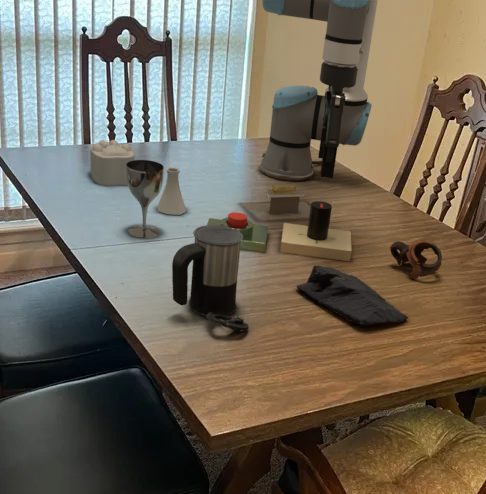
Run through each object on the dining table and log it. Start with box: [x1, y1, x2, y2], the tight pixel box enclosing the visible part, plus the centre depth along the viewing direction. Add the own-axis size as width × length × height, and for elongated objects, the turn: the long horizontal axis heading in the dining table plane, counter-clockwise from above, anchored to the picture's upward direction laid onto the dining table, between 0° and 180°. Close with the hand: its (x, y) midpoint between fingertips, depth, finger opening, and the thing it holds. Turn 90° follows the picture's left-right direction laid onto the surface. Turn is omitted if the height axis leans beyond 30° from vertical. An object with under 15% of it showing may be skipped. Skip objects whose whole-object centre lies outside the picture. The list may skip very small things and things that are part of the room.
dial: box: [307, 200, 333, 240], centre depth 175 cm, size 5×5×8 cm
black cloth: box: [296, 264, 409, 326], centre depth 155 cm, size 15×22×5 cm
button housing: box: [206, 216, 269, 253], centre depth 176 cm, size 14×11×4 cm
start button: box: [227, 211, 248, 227], centre depth 174 cm, size 4×4×2 cm
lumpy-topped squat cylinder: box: [89, 139, 135, 187], centre depth 199 cm, size 10×13×9 cm
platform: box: [241, 184, 311, 219], centre depth 194 cm, size 12×18×7 cm, turn 114°
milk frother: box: [171, 224, 250, 333], centre depth 141 cm, size 14×16×15 cm
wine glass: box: [126, 159, 165, 239], centre depth 170 cm, size 8×8×15 cm
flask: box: [156, 166, 187, 216], centre depth 184 cm, size 7×7×10 cm
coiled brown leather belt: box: [389, 240, 443, 280], centre depth 173 cm, size 12×10×8 cm
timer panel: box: [279, 222, 353, 262], centre depth 178 cm, size 16×12×3 cm
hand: (325, 167), depth 169 cm, fingers open, 13 cm apart
